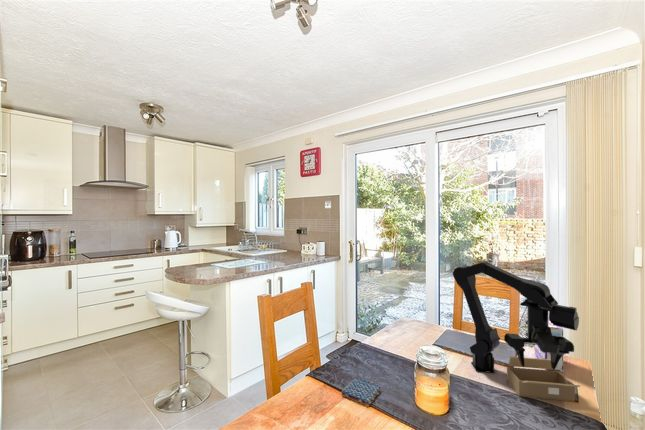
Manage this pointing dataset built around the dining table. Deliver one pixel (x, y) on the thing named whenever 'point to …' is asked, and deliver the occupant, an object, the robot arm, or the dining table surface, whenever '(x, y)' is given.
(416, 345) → the dining table surface
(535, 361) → the back flap
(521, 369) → the carton
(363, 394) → the woven mat
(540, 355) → the candy box
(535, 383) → the front flap
